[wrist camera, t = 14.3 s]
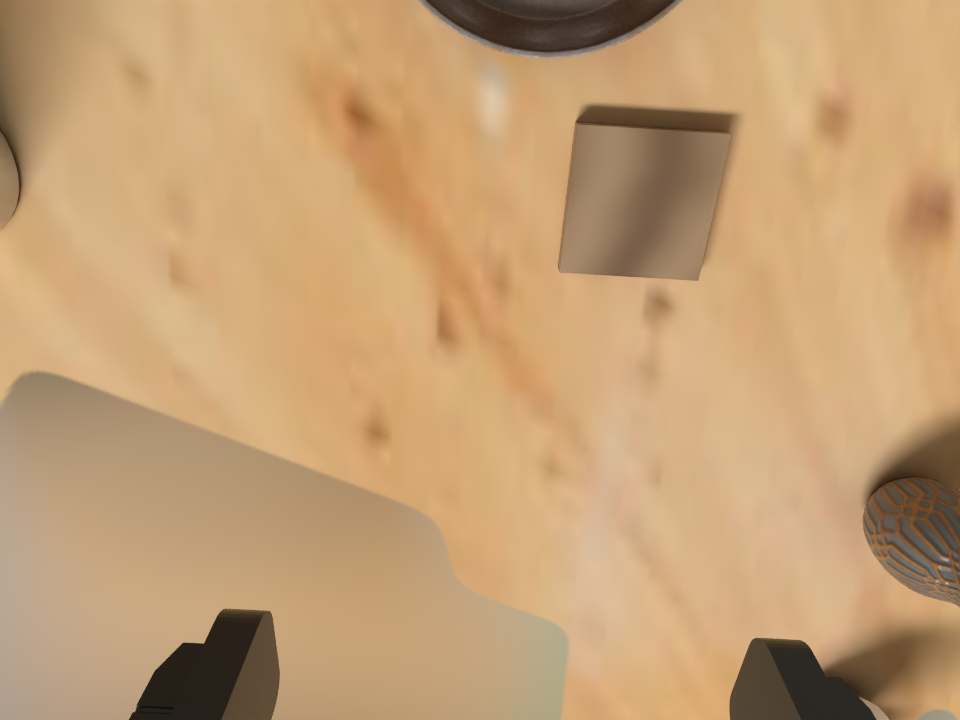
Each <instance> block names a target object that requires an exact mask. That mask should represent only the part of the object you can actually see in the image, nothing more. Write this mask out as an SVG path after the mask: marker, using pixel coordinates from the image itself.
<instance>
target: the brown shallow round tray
mask: <svg viewBox="0 0 960 720" xmlns="http://www.w3.org/2000/svg"><path fill="white" fill-rule="evenodd" d="M418 1H419V2H420V3H421V4H422V5H423V6H424V7H425V8H426V9H427V10H428V11H429V12H431V13H432V14H433V15H434V16H435V17H436V18H438V19H439V20H440V21H442V22H443V23H444V24H445V25H447V26H448V27H450V28H451V29H453V30H454V31H456V32H458V33H459V34H461V35H463V36H464V37H466V38H468V39H470V40H472V41H474V42H476V43H478V44H480V45H483V46H486V47H488V48H491V49H494V50H497V51H501V52H504V53H508V54H512V55H518V56H524V57H533V58H561V57H571V56H578V55H583V54H587V53H592V52H595V51H599V50H602V49H605V48H608V47H611V46H614V45H616V44H618V43H621V42H623V41H625V40H627V39H629V38H631V37H633V36H635V35H637V34H639V33H640V32H642V31H644V30H645V29H647V28H648V27H650V26H651V25H653V24H654V23H656V22H657V21H659V20H660V19H661V18H663V17H664V16H665V15H666V14H668V13H669V12H670V11H671V10H673V9H674V8H675V7H676V6H677V5H678V4H680V3H681V2H682V1H683V0H418Z"/></svg>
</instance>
